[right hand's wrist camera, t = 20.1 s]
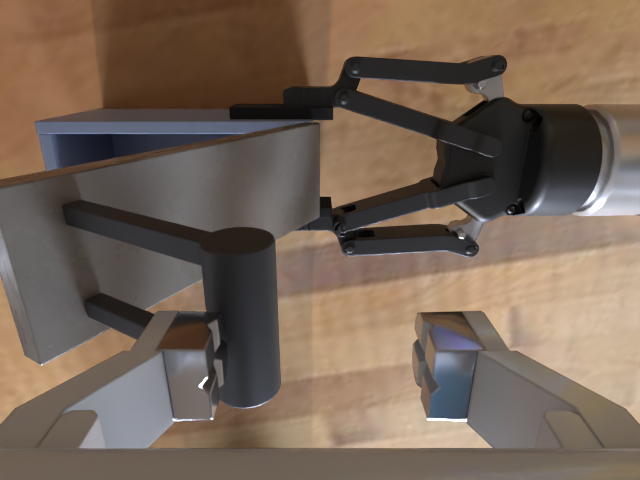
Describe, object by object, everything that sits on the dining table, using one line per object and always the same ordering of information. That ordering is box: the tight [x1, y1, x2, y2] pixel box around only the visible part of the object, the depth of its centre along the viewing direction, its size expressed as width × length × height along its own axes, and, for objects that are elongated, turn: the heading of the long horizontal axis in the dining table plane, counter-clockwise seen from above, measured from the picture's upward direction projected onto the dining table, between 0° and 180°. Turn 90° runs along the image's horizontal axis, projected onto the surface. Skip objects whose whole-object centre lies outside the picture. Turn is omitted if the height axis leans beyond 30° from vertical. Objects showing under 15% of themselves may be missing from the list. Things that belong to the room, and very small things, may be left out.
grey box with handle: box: [0, 122, 320, 408], centre depth 18 cm, size 17×6×9 cm
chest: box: [35, 108, 313, 171], centre depth 32 cm, size 17×6×9 cm, turn 90°
